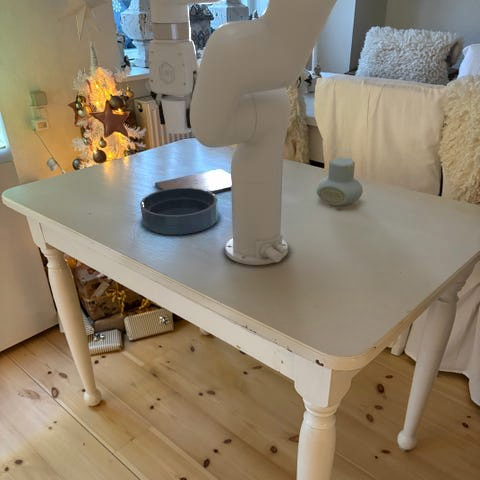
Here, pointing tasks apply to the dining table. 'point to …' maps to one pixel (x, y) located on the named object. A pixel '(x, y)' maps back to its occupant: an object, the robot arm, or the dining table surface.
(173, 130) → the white cup
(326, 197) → the air freshener
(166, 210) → the bowl
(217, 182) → the board
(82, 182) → the dining table surface
